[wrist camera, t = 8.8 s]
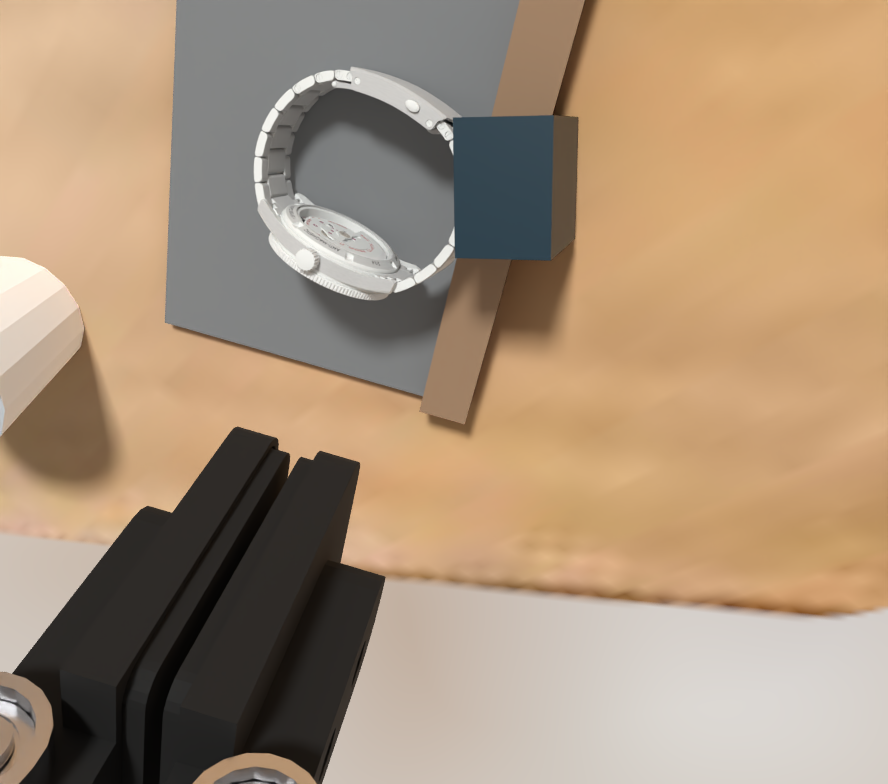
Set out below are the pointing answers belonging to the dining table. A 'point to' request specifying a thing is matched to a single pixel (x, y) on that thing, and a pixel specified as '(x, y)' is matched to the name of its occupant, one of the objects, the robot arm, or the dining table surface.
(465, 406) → the mat
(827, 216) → the dining table surface
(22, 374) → the white cup
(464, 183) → the watch
